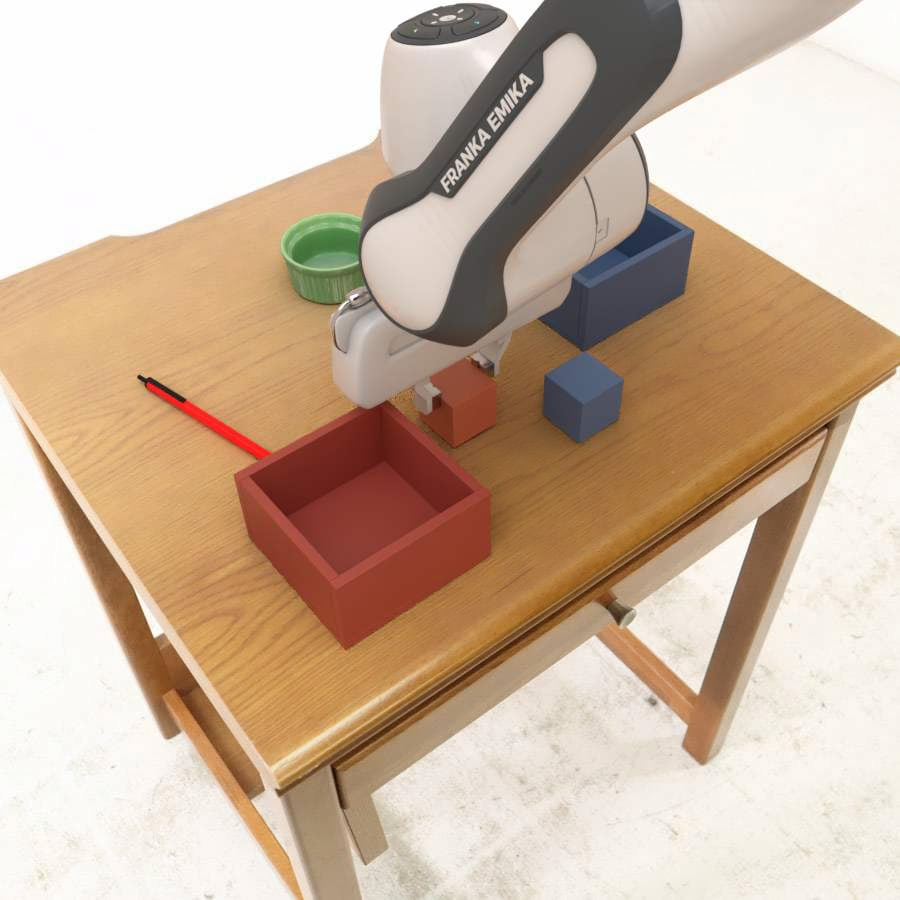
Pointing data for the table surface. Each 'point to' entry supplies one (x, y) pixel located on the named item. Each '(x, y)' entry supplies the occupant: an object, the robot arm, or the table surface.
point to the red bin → (365, 518)
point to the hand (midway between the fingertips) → (457, 390)
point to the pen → (204, 417)
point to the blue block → (582, 396)
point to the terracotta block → (463, 402)
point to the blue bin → (625, 281)
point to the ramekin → (323, 256)
